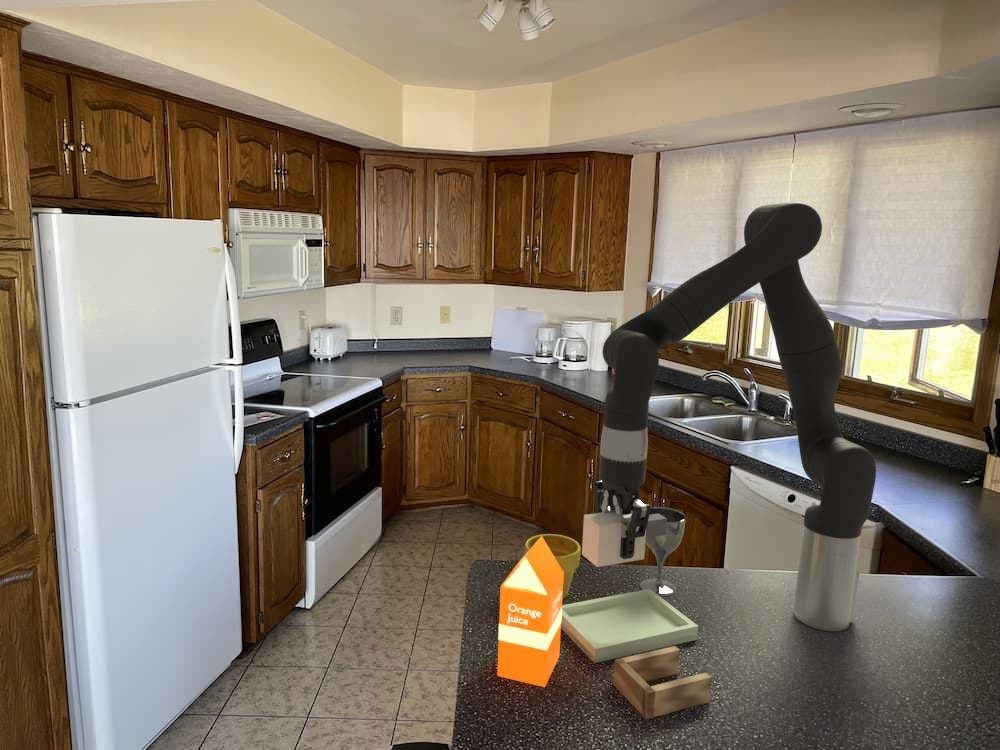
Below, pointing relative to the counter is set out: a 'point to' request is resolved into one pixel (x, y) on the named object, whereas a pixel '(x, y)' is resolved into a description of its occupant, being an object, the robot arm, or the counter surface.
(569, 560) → the plant pot
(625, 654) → the tray
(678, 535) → the wine glass
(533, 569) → the orange juice
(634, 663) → the dock
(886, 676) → the counter surface
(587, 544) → the cream and grey blocks
